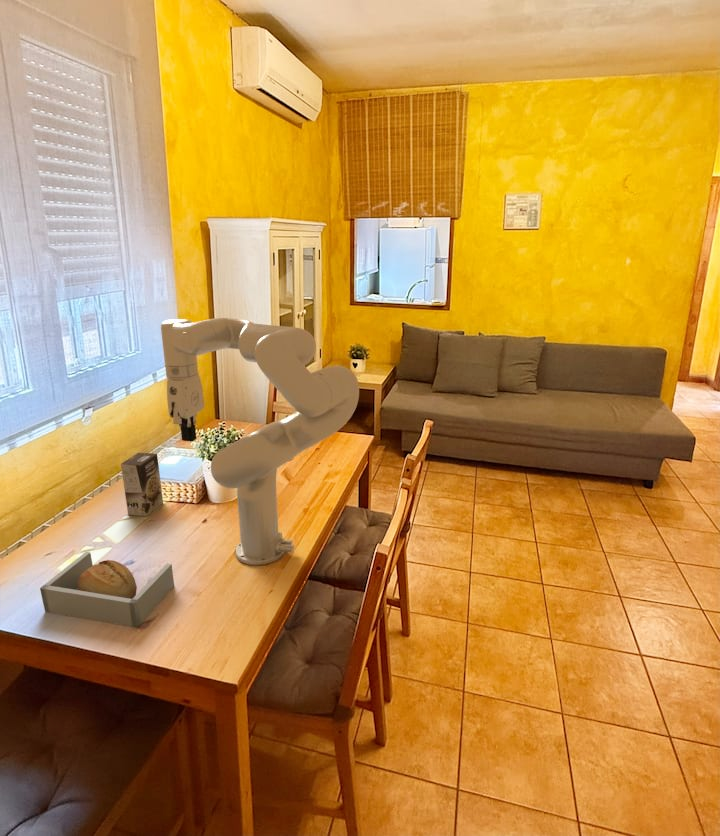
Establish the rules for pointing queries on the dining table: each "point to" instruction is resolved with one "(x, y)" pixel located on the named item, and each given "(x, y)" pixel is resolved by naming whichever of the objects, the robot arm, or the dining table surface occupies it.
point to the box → (103, 596)
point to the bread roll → (108, 580)
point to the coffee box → (142, 484)
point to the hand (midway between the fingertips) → (189, 439)
